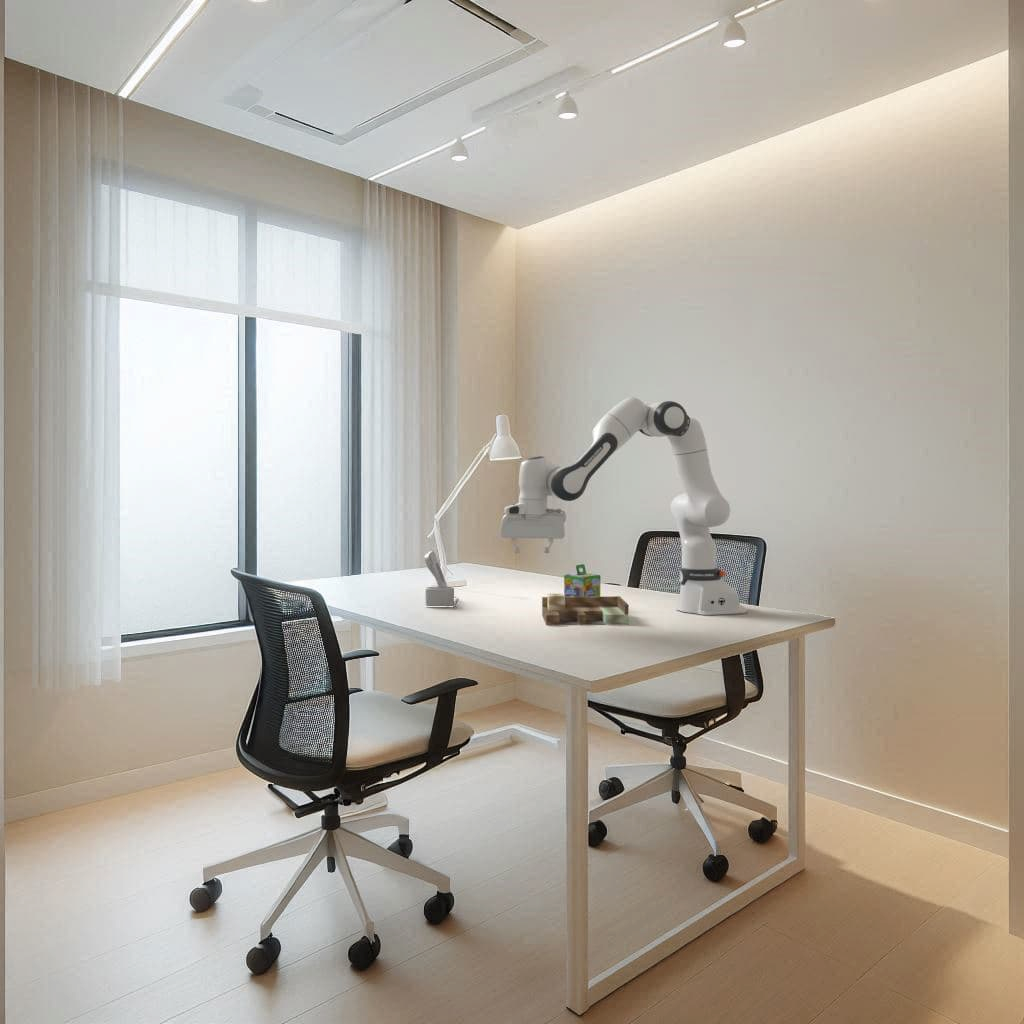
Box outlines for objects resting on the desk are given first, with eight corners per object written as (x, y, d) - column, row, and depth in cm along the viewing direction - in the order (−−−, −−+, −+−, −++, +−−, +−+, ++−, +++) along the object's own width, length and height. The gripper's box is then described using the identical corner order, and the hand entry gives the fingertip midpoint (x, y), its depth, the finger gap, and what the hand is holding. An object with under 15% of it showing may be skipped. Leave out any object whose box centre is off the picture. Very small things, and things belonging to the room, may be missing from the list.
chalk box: (584, 612, 254) (584, 567, 253) (563, 608, 260) (563, 565, 259) (601, 608, 260) (601, 564, 259) (580, 605, 267) (580, 562, 266)
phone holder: (453, 607, 262) (453, 555, 261) (424, 607, 262) (423, 555, 261) (458, 598, 280) (458, 549, 278) (430, 598, 280) (430, 549, 279)
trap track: (619, 614, 249) (619, 596, 249) (628, 624, 234) (628, 604, 234) (542, 615, 248) (542, 597, 248) (546, 625, 233) (546, 605, 233)
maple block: (563, 607, 246) (563, 593, 245) (564, 610, 241) (564, 596, 240) (547, 607, 246) (547, 593, 245) (548, 610, 241) (548, 596, 240)
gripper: (565, 508, 244) (564, 552, 245) (500, 507, 244) (499, 551, 245) (566, 509, 238) (565, 554, 239) (500, 508, 238) (499, 553, 238)
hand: (531, 552), depth 242 cm, fingers open, 8 cm apart
